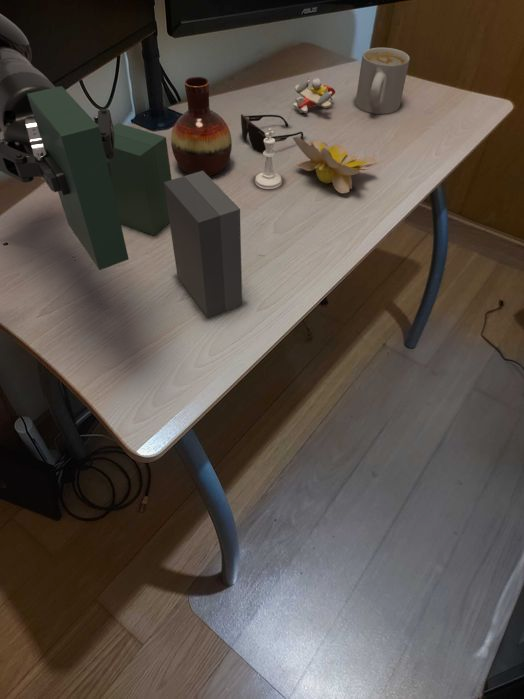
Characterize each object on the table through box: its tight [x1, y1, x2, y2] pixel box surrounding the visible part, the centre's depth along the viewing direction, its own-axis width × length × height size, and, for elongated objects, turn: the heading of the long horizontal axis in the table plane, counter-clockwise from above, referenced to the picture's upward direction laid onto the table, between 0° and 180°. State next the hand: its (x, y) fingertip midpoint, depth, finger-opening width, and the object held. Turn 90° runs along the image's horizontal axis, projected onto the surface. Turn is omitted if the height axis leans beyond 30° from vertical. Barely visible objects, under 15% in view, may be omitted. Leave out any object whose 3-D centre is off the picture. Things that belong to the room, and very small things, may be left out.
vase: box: [170, 76, 233, 177], centre depth 93 cm, size 11×11×15 cm
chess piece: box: [254, 127, 283, 190], centre depth 91 cm, size 5×5×10 cm
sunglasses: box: [240, 113, 304, 153], centre depth 104 cm, size 10×12×5 cm
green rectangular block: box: [108, 122, 173, 237], centre depth 82 cm, size 6×9×14 cm
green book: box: [27, 85, 129, 271], centre depth 49 cm, size 3×9×14 cm, turn 33°
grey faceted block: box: [164, 171, 243, 319], centre depth 70 cm, size 6×10×16 cm, turn 31°
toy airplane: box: [293, 77, 336, 114], centre depth 112 cm, size 9×9×6 cm
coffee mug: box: [355, 47, 411, 115], centre depth 112 cm, size 13×10×10 cm
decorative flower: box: [292, 136, 379, 194], centre depth 92 cm, size 15×11×10 cm
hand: (84, 179), depth 48 cm, fingers closed on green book, 3 cm apart
